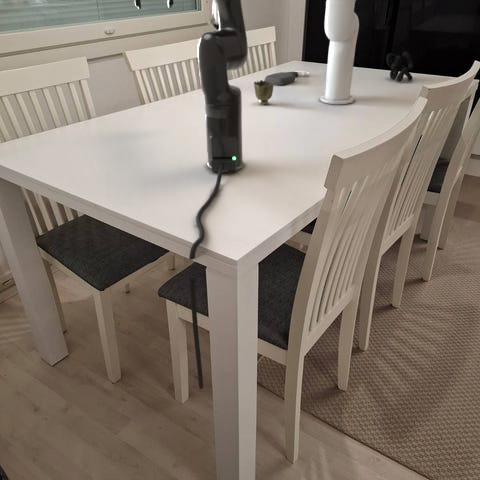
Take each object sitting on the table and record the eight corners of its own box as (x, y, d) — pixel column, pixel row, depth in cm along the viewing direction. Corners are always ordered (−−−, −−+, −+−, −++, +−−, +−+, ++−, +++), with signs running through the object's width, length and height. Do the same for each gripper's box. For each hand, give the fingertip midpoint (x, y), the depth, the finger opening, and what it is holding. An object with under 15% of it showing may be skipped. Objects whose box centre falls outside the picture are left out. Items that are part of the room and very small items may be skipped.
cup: (250, 105, 169) (250, 83, 165) (259, 100, 175) (259, 79, 171) (268, 107, 166) (268, 85, 162) (276, 102, 172) (277, 80, 168)
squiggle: (400, 92, 202) (376, 71, 205) (417, 76, 202) (392, 56, 205) (405, 81, 191) (380, 59, 194) (423, 64, 191) (397, 42, 194)
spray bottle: (262, 82, 200) (292, 74, 216) (282, 86, 194) (312, 76, 210) (262, 76, 198) (293, 67, 214) (282, 79, 192) (312, 70, 208)
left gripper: (171, -61, 122) (177, 6, 131) (118, -61, 118) (127, 8, 127) (176, -62, 116) (182, 8, 125) (121, -62, 112) (130, 10, 121)
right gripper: (243, -12, 175) (243, 38, 185) (201, -11, 171) (204, 41, 181) (249, -11, 169) (249, 41, 179) (206, -10, 165) (209, 44, 174)
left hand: (154, 8), depth 126 cm, fingers open, 8 cm apart
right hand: (227, 40), depth 180 cm, fingers closed on brick, 4 cm apart
